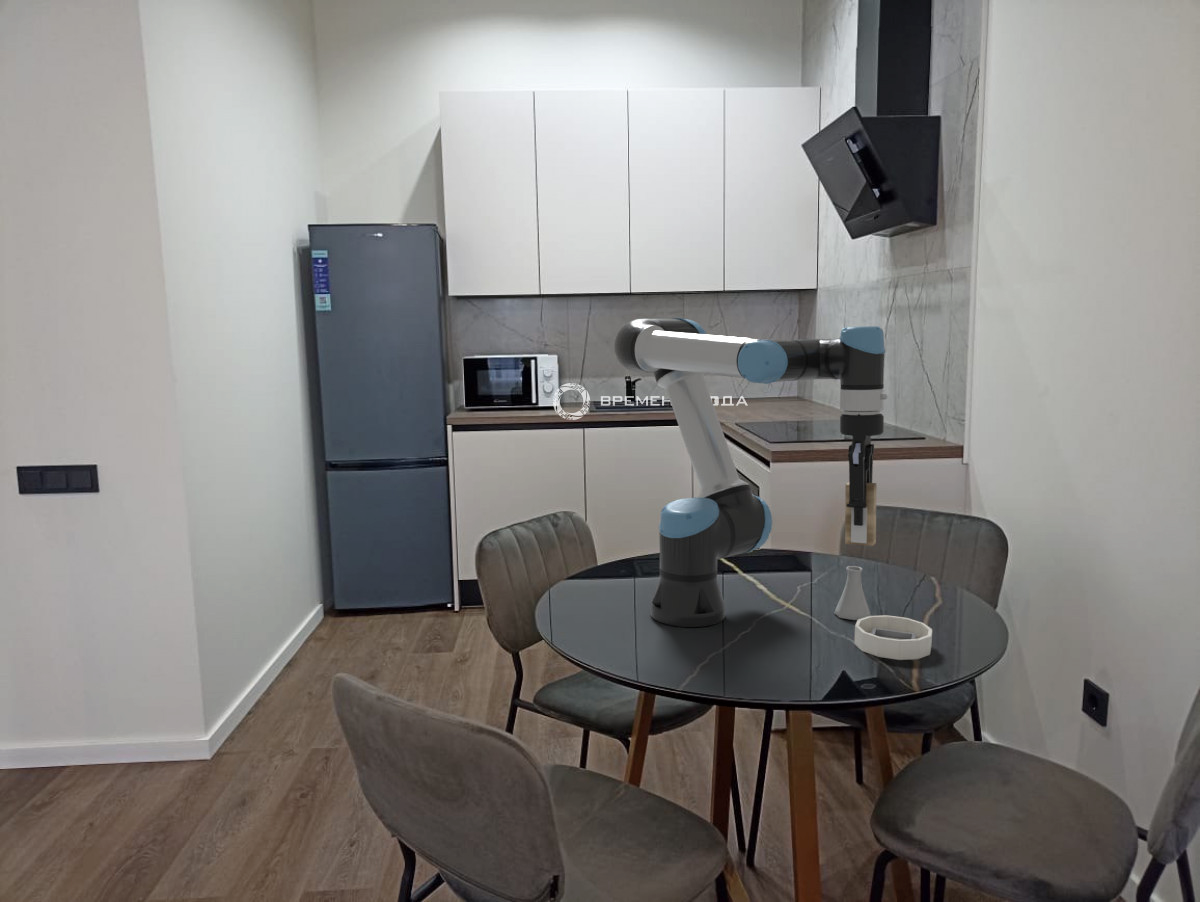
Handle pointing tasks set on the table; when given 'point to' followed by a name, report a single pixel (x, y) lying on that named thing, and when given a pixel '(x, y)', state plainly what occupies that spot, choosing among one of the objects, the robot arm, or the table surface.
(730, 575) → the table surface
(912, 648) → the white round dish
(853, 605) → the flask
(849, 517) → the wooden block
